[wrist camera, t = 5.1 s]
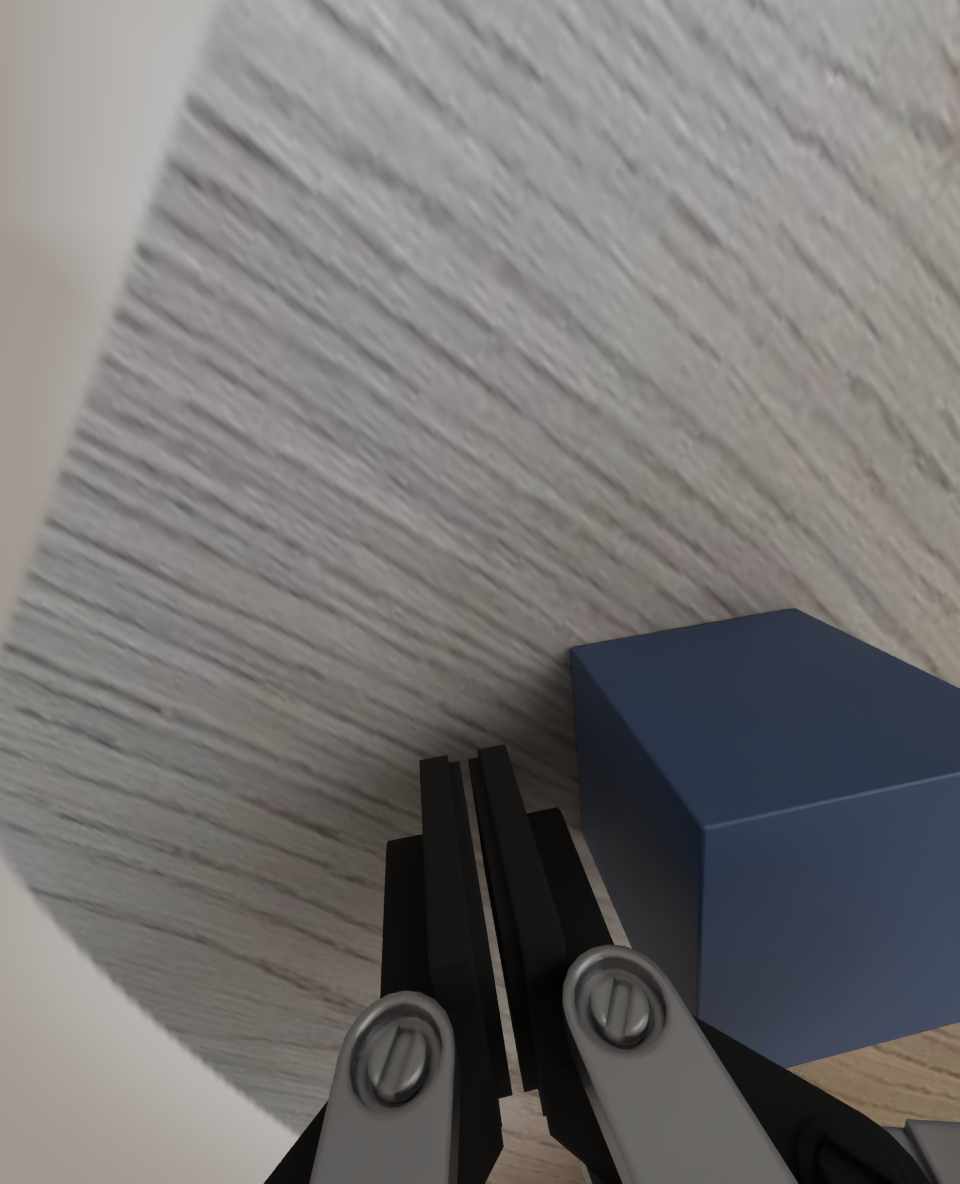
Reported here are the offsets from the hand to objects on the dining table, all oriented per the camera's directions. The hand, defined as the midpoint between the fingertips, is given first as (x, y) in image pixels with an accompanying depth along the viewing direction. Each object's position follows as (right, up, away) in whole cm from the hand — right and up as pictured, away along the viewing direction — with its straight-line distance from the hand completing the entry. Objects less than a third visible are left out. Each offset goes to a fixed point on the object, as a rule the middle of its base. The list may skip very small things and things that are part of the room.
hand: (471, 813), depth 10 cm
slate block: (+5, +1, +2) cm, 5 cm away
